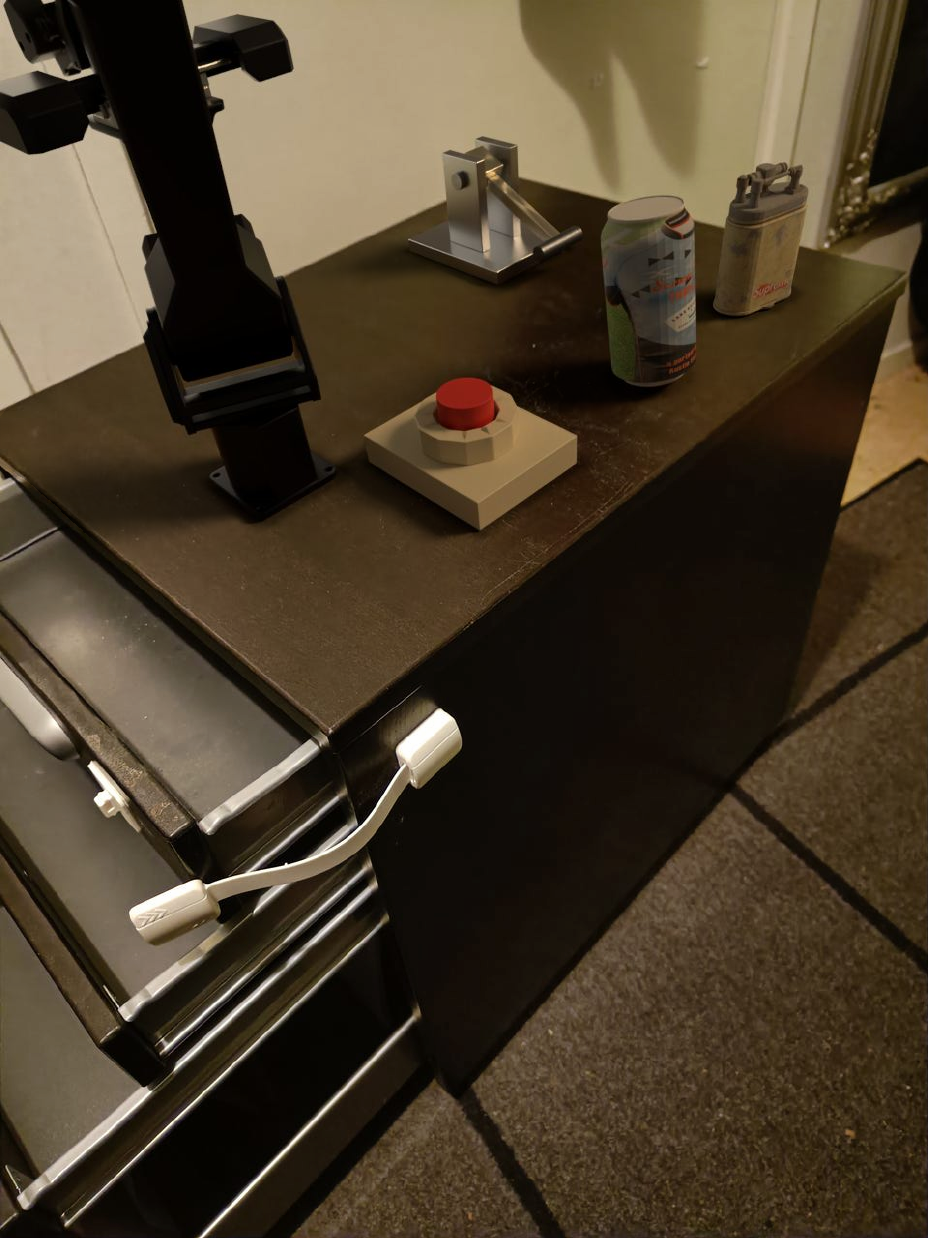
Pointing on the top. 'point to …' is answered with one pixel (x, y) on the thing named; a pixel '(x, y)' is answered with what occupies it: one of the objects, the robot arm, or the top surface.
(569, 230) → the lever
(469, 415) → the button
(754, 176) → the lighter
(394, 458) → the button box
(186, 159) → the robot arm
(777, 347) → the top surface
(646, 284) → the beverage can
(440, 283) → the top surface
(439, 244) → the bracket
